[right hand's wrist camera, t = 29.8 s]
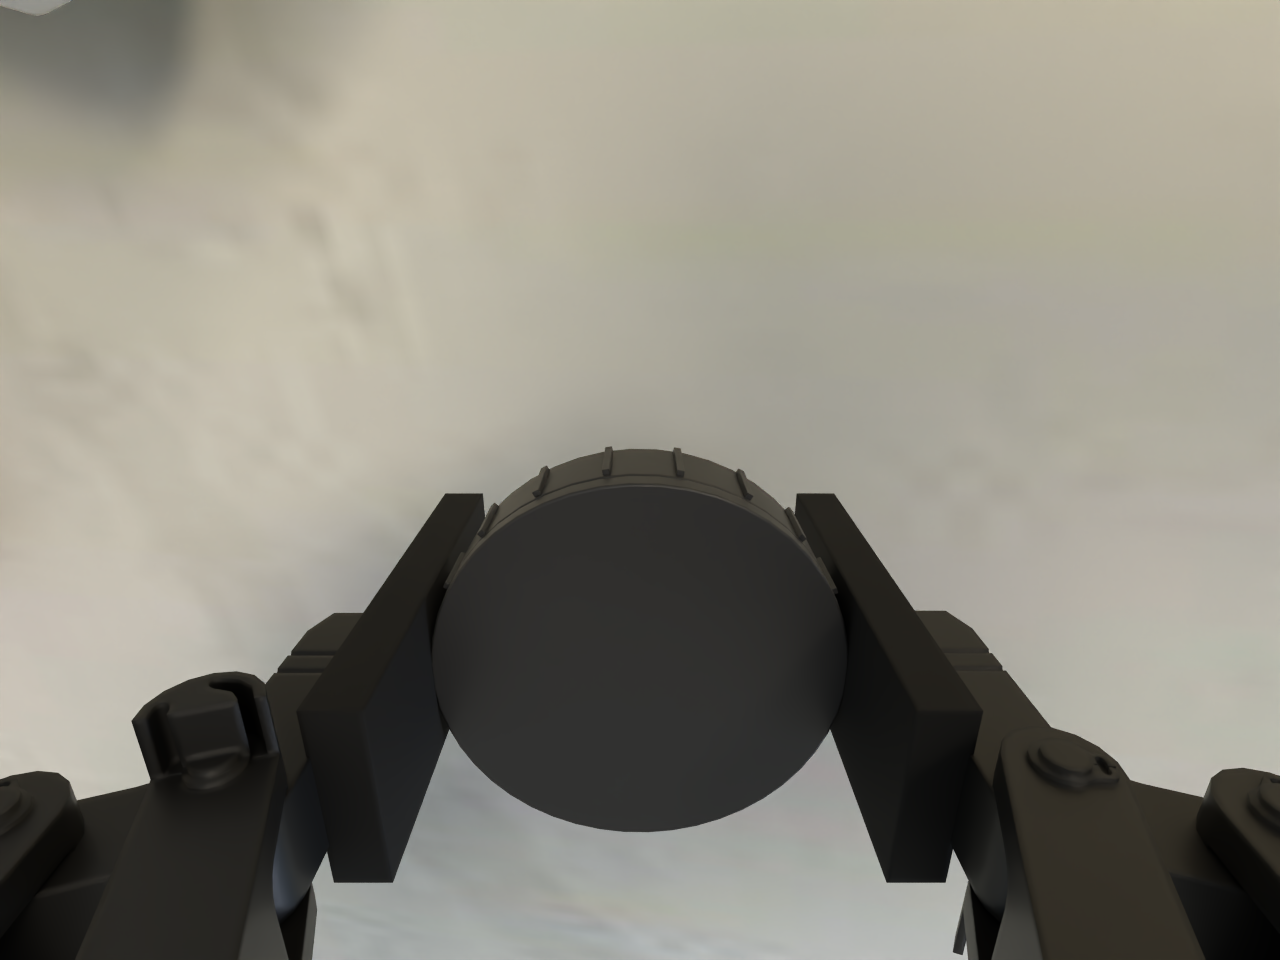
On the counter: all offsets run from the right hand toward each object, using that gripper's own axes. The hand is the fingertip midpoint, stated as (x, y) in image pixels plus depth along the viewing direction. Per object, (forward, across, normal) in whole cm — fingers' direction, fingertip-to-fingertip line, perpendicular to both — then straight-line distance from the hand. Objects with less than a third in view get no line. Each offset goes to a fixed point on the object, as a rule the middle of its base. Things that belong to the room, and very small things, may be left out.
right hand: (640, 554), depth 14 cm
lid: (-4, 0, 0) cm, 4 cm away
